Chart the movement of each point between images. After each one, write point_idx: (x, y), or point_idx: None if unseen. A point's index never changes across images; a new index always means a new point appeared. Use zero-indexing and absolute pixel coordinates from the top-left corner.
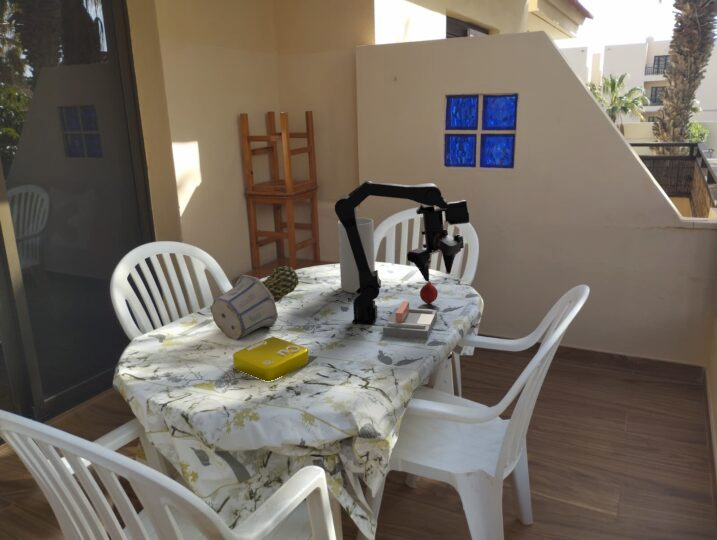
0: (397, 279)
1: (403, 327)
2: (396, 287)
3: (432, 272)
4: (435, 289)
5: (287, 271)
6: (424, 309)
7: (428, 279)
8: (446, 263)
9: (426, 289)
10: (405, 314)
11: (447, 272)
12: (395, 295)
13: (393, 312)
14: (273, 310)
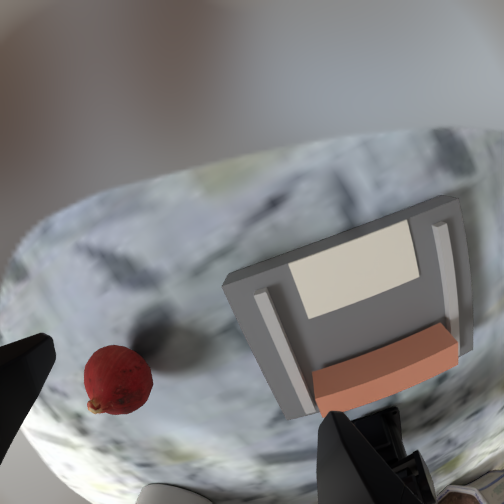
0: (80, 454)
1: (459, 298)
2: (111, 452)
3: None
4: (96, 368)
5: None
6: (272, 327)
7: (345, 422)
8: (8, 414)
9: (127, 397)
10: (389, 352)
11: (54, 356)
12: (151, 446)
13: None
14: (485, 497)
